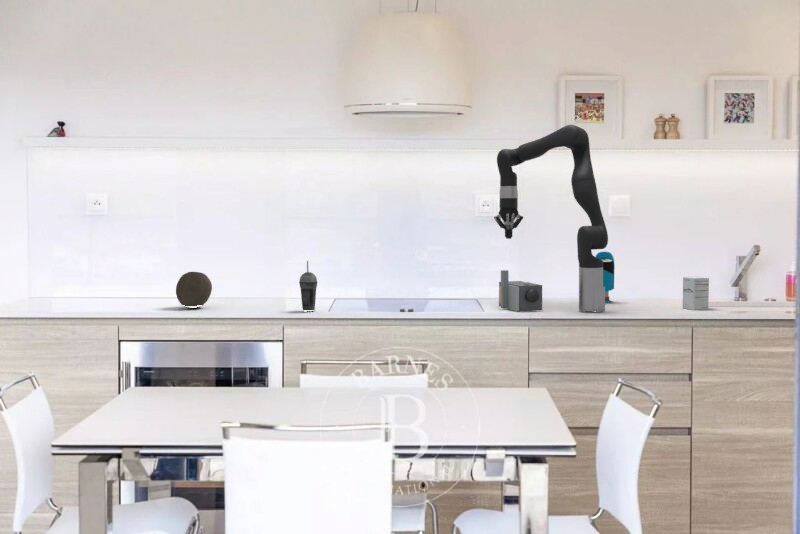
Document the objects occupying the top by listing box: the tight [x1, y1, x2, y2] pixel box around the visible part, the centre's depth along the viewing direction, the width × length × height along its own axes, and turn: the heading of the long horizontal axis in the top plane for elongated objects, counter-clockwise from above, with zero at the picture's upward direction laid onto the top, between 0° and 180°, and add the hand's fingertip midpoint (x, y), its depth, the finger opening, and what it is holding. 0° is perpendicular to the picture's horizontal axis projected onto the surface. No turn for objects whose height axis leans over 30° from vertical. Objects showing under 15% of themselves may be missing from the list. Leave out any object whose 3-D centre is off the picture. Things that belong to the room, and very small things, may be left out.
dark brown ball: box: [175, 271, 213, 307], centre depth 418 cm, size 14×14×15 cm
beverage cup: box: [298, 260, 318, 311], centre depth 405 cm, size 7×7×20 cm
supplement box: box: [682, 275, 710, 311], centre depth 407 cm, size 7×7×13 cm
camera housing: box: [498, 280, 543, 312], centre depth 411 cm, size 22×10×11 cm, turn 18°
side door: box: [500, 269, 520, 312], centre depth 405 cm, size 10×3×15 cm, turn 18°
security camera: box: [595, 251, 615, 304], centre depth 431 cm, size 8×21×10 cm
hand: (508, 238), depth 432 cm, fingers closed
